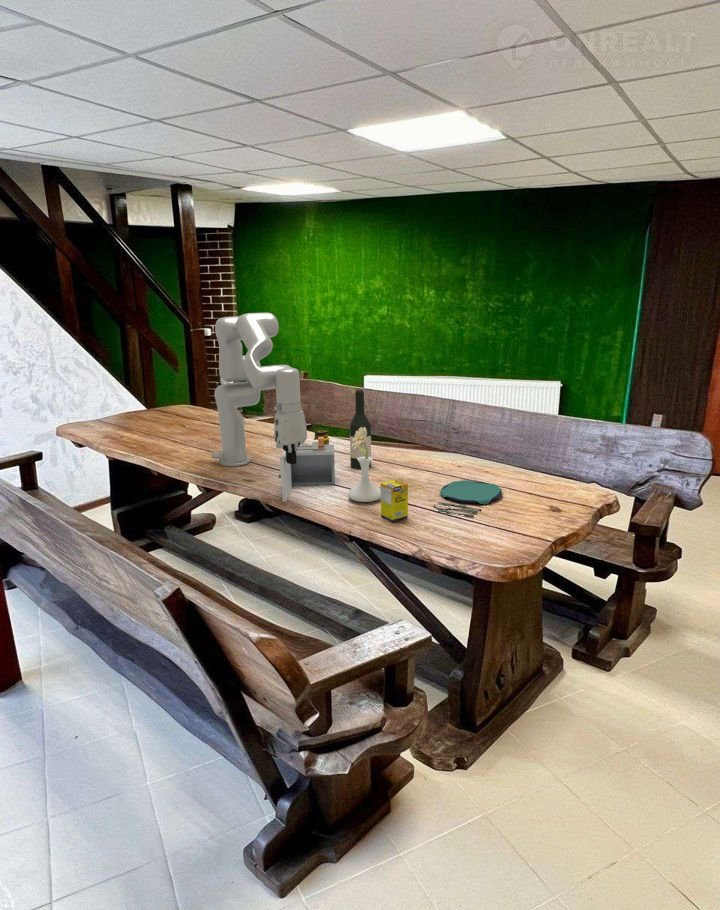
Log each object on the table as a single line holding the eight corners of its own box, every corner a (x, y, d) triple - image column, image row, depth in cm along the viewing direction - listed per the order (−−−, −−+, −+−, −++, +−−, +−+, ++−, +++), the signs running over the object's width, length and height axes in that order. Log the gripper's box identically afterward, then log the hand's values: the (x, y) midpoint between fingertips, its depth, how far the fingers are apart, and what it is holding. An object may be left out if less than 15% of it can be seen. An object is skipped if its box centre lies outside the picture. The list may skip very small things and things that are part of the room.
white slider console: (289, 485, 213) (287, 452, 210) (291, 477, 222) (289, 445, 219) (334, 484, 213) (333, 451, 210) (334, 476, 223) (334, 444, 220)
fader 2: (318, 446, 216) (317, 438, 216) (318, 444, 219) (318, 437, 218) (323, 446, 216) (323, 438, 216) (323, 444, 219) (323, 436, 218)
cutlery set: (509, 491, 204) (509, 484, 204) (478, 522, 180) (478, 515, 179) (454, 483, 214) (454, 476, 214) (417, 511, 190) (417, 504, 189)
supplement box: (408, 518, 182) (408, 483, 179) (392, 522, 179) (392, 487, 176) (395, 512, 187) (395, 478, 184) (380, 516, 183) (380, 482, 180)
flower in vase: (348, 493, 204) (347, 420, 198) (382, 493, 204) (382, 420, 197) (346, 507, 192) (345, 430, 185) (382, 507, 191) (382, 429, 185)
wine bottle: (356, 470, 229) (354, 392, 221) (346, 465, 236) (344, 388, 228) (375, 467, 233) (374, 389, 224) (365, 462, 240) (364, 386, 232)
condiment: (333, 460, 243) (332, 431, 240) (315, 464, 238) (314, 434, 235) (324, 456, 249) (323, 428, 245) (306, 460, 244) (305, 431, 241)
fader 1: (312, 449, 212) (312, 441, 212) (312, 447, 215) (312, 439, 214) (318, 449, 213) (317, 441, 212) (318, 447, 215) (318, 439, 214)
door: (286, 486, 213) (284, 446, 209) (292, 486, 213) (290, 446, 209) (279, 501, 198) (276, 458, 194) (286, 501, 198) (284, 458, 194)
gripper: (276, 412, 184) (279, 470, 189) (314, 405, 194) (316, 460, 199) (262, 409, 189) (265, 465, 194) (300, 402, 199) (302, 456, 204)
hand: (291, 463), depth 196 cm, fingers closed
